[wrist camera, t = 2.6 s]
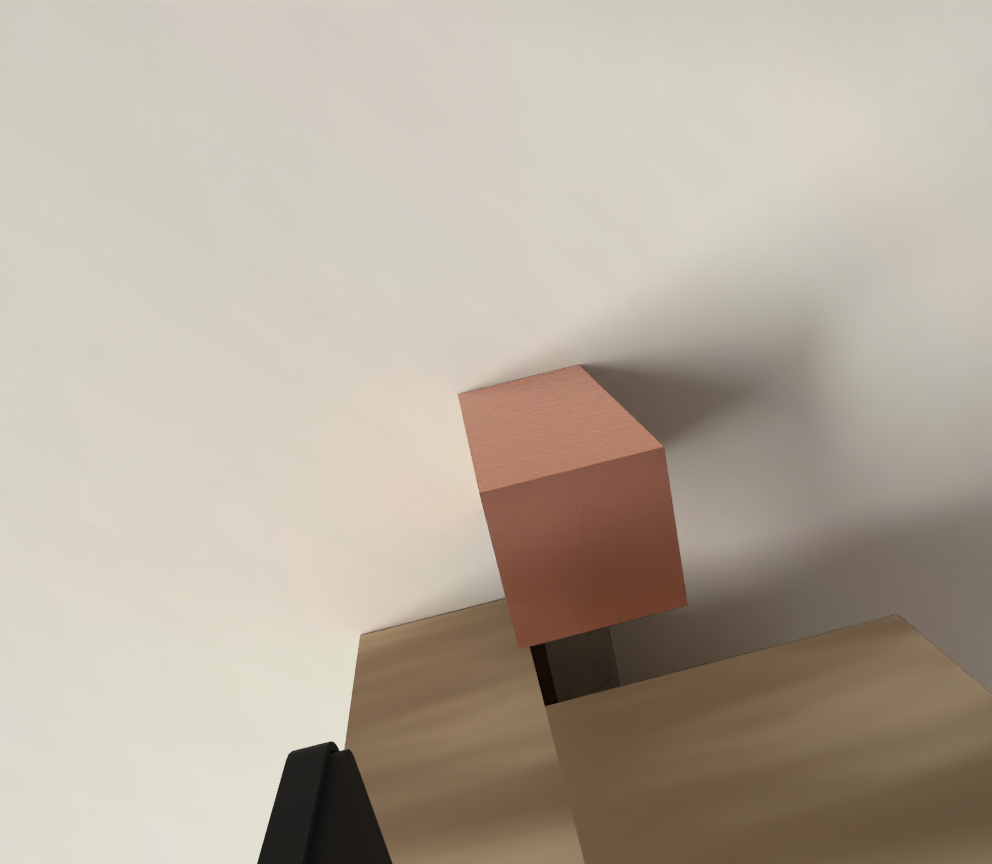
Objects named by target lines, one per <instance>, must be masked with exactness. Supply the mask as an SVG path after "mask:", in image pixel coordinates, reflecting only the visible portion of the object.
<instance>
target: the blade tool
mask: <svg viewBox="0 0 992 864" xmlns="http://www.w3.org/2000/svg"><path fill="white" fill-rule="evenodd" d="M458 397H459V401H460V406H461V411H462V415H463V420H464V424H465V429H466V433H467V438H468V443H469V447H470V452H471V456H472V461H473V466H474V470H475V475H476V479H477V484H478V489H479V493H480V497H481V501H482V505H483V509H484V513H485V517H486V521H487V525H488V529H489V533H490V537H491V541H492V545H493V549H494V553H495V557H496V561H497V564H498V568H499V572H500V576H501V580H502V584H503V588H504V592H505V596H506V600H507V604H508V608H509V612H510V616H511V620H512V624H513V628H514V632H515V636H516V640H517V644H518V648H519V649H522V648H526V647H530V646H534V645H538V644H542V643H544V644H545V648H546V652H547V657H548V661H549V665H550V669H551V674H552V678H553V682H554V686H555V691H556V695H557V699H558V703H560V702H563V701H567V700H571V699H575V698H579V697H583V696H586V695H590V694H594V693H598V692H602V691H606V690H609V689H613V688H617V687H620V682H619V677H618V672H617V667H616V661H615V656H614V651H613V646H612V641H611V636H610V631H609V626H611V625H615V624H619V623H623V622H626V621H630V620H634V619H638V618H642V617H646V616H650V615H654V614H657V613H661V612H665V611H669V610H673V609H677V608H681V607H684V606H688V605H687V598H686V591H685V585H684V578H683V571H682V565H681V558H680V551H679V544H678V538H677V531H676V524H675V518H674V511H673V504H672V497H671V491H670V484H669V477H668V471H667V464H666V457H665V450H664V446H663V445H662V444H661V443H660V442H659V441H658V440H656V439H655V438H654V437H653V436H652V435H651V434H650V433H649V432H648V431H647V430H646V429H645V428H644V427H643V426H642V425H641V424H640V423H639V422H638V421H637V420H636V419H635V418H634V417H633V416H632V415H630V414H629V413H628V412H627V411H626V410H625V409H624V408H623V407H622V406H621V405H620V404H619V403H618V402H617V401H616V400H615V399H614V398H613V397H612V396H611V395H610V394H609V393H608V392H607V391H606V390H604V389H603V388H602V387H601V386H600V385H599V384H598V383H597V382H596V381H595V380H594V379H593V378H592V377H591V376H590V375H589V374H588V373H587V372H586V371H585V370H584V369H583V368H582V367H581V366H580V365H576V366H572V367H568V368H564V369H559V370H555V371H551V372H547V373H543V374H539V375H535V376H531V377H527V378H523V379H519V380H515V381H511V382H506V383H502V384H498V385H494V386H490V387H486V388H482V389H478V390H474V391H470V392H466V393H462V394H458Z"/></svg>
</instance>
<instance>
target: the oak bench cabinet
mask: <svg viewBox="0 0 992 864" xmlns="http://www.w3.org/2000/svg"><path fill="white" fill-rule="evenodd" d="M347 749H350V750H351V751H352V753H353V755H354V757H355V760H356V763H357V766H358V769H359V771H360V774H361V777H362V780H363V783H364V785H365V788H366V791H367V794H368V796H369V799H370V802H371V805H372V808H373V810H374V813H375V816H376V819H377V822H378V824H379V827H380V830H381V833H382V835H383V838H384V841H385V844H386V847H387V849H388V852H389V855H390V858H391V861H392V863H393V864H992V693H991V692H989V691H988V690H987V689H986V688H985V687H984V686H982V685H981V684H980V683H979V682H978V681H976V680H975V679H974V678H973V677H972V676H970V675H969V674H968V673H967V672H966V671H965V670H963V669H962V668H961V667H960V666H959V665H957V664H956V663H955V662H954V661H953V660H952V659H950V658H949V657H948V656H947V655H946V654H944V653H943V652H942V651H941V650H940V649H939V648H937V647H936V646H935V645H934V644H933V643H931V642H930V641H929V640H928V639H927V638H925V637H924V636H923V635H922V634H921V633H920V632H918V631H917V630H916V629H915V628H914V627H912V626H911V625H910V624H909V623H908V622H907V621H905V620H904V619H903V618H902V617H901V616H899V615H898V614H897V615H893V616H889V617H885V618H881V619H877V620H874V621H870V622H866V623H862V624H858V625H854V626H851V627H847V628H843V629H839V630H835V631H831V632H828V633H824V634H820V635H816V636H812V637H809V638H805V639H801V640H797V641H793V642H789V643H786V644H782V645H778V646H774V647H770V648H766V649H763V650H759V651H755V652H751V653H747V654H743V655H740V656H736V657H732V658H728V659H724V660H720V661H717V662H713V663H709V664H705V665H701V666H697V667H694V668H690V669H686V670H682V671H678V672H674V673H671V674H667V675H663V676H659V677H655V678H652V679H648V680H644V681H640V682H636V683H632V684H629V685H625V686H621V687H617V688H613V689H609V690H606V691H602V692H598V693H594V694H590V695H586V696H583V697H579V698H575V699H571V700H567V701H563V702H560V703H556V704H552V705H548V706H545V705H544V701H543V697H542V694H541V690H540V686H539V682H538V678H537V674H536V670H535V666H534V662H533V658H532V654H531V650H530V647H526V648H522V649H519V648H518V644H517V640H516V636H515V632H514V628H513V624H512V620H511V616H510V612H509V608H508V604H507V600H506V598H505V599H501V600H498V601H494V602H490V603H486V604H482V605H478V606H474V607H470V608H466V609H462V610H458V611H454V612H451V613H447V614H443V615H439V616H435V617H431V618H427V619H423V620H419V621H415V622H411V623H407V624H404V625H400V626H396V627H392V628H388V629H384V630H380V631H376V632H372V633H368V634H364V635H360V641H359V648H358V655H357V662H356V670H355V677H354V684H353V691H352V699H351V706H350V713H349V721H348V728H347V735H346V742H345V750H347Z"/></svg>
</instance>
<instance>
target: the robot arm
mask: <svg viewBox="0 0 992 864" xmlns="http://www.w3.org/2000/svg"><path fill="white" fill-rule="evenodd" d="M257 864H393V863H392V861H391V858H390V855H389V852H388V849H387V847H386V844H385V841H384V838H383V835H382V833H381V830H380V827H379V824H378V822H377V819H376V816H375V813H374V810H373V808H372V805H371V802H370V799H369V796H368V794H367V791H366V788H365V785H364V783H363V780H362V777H361V774H360V771H359V769H358V766H357V763H356V760H355V757H354V755H353V753H352V751H351V750H350V749H347V750H343V751H339V749H338V747H337V745H336V744H335V743H334V742H327V743H323V744H319V745H315V746H311V747H307V748H303V749H299V750H295V751H292V752H291V753H289V755H288V757H287V760H286V763H285V766H284V770H283V774H282V777H281V781H280V784H279V788H278V791H277V795H276V799H275V802H274V806H273V809H272V813H271V816H270V820H269V824H268V827H267V831H266V834H265V838H264V841H263V845H262V849H261V852H260V856H259V859H258V863H257Z"/></svg>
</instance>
